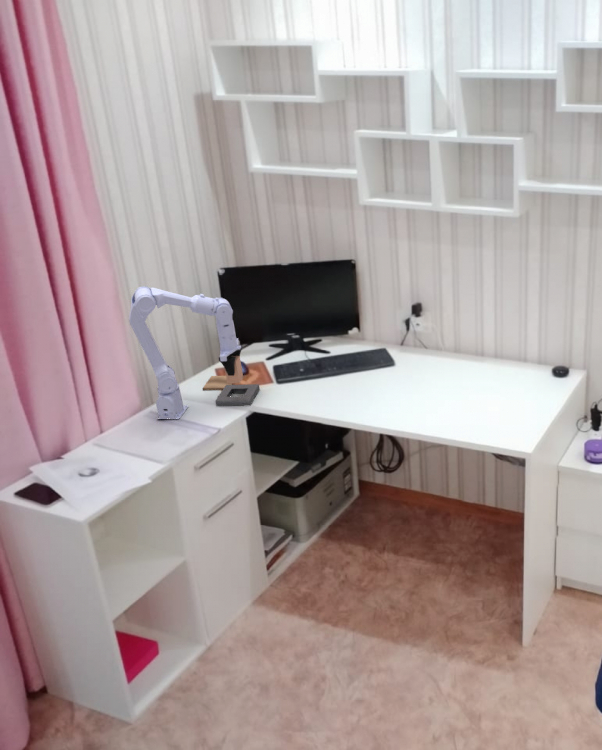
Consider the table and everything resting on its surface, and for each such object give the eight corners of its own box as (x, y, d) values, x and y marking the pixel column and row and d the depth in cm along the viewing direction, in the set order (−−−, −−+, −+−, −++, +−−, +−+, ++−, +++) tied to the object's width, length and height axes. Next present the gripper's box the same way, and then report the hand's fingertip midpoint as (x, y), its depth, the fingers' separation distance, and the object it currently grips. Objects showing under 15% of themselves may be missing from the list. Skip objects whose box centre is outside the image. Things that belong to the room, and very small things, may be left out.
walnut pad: (229, 390, 305) (229, 387, 305) (202, 390, 308) (202, 388, 307) (237, 377, 314) (237, 375, 313) (211, 377, 316) (211, 375, 316)
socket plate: (250, 405, 292) (249, 400, 291) (216, 406, 295) (215, 400, 294) (259, 389, 302) (258, 384, 301) (226, 390, 305) (226, 384, 304)
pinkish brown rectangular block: (239, 383, 293) (235, 361, 290) (227, 383, 294) (223, 361, 291) (243, 377, 297) (239, 355, 294) (231, 377, 298) (227, 356, 295)
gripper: (231, 343, 281) (238, 381, 287) (244, 325, 294) (250, 362, 300) (211, 343, 283) (218, 381, 289) (224, 326, 296) (231, 363, 302)
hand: (233, 371), depth 294 cm, fingers closed on pinkish brown rectangular block, 4 cm apart
